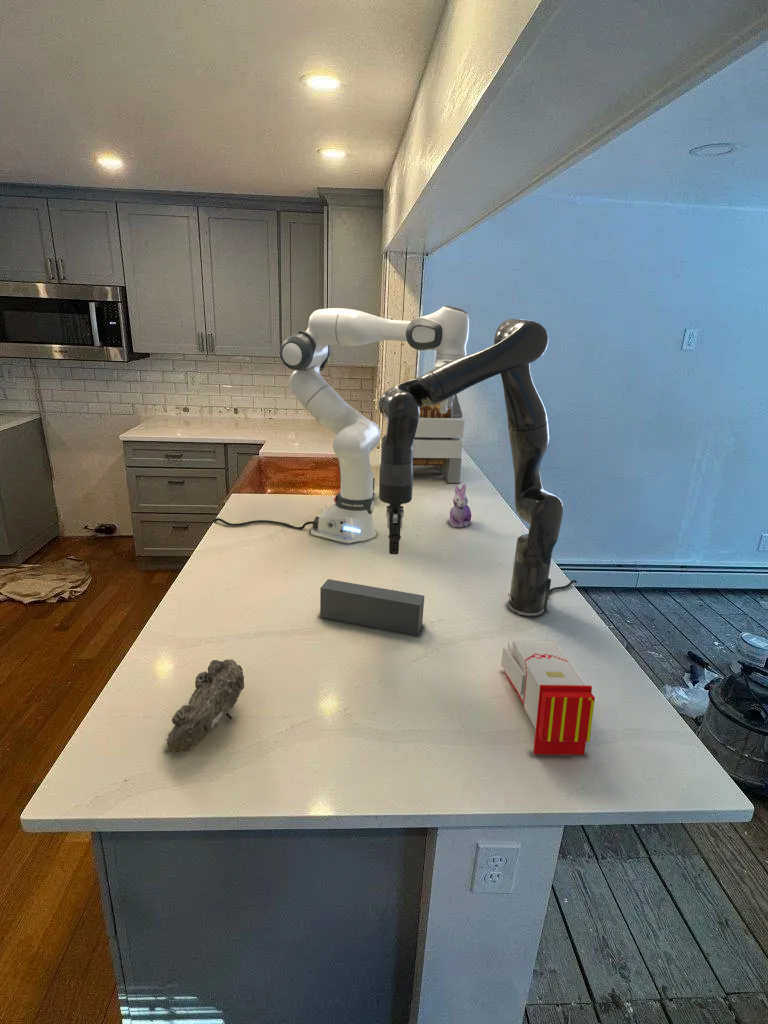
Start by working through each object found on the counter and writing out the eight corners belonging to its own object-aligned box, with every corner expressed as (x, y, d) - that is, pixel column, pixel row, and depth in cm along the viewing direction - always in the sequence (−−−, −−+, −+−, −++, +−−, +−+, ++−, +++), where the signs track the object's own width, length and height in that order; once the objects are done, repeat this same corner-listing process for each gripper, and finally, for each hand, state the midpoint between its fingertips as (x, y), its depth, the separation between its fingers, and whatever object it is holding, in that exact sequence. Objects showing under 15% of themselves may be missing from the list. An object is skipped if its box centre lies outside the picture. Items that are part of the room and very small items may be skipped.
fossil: (192, 660, 117) (244, 628, 112) (224, 691, 120) (276, 661, 115) (142, 746, 98) (202, 712, 93) (182, 779, 101) (242, 748, 96)
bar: (320, 617, 144) (320, 587, 142) (327, 607, 149) (327, 578, 146) (417, 635, 138) (419, 605, 135) (422, 625, 143) (424, 595, 140)
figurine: (457, 529, 205) (460, 490, 200) (441, 520, 214) (444, 482, 209) (478, 526, 210) (482, 487, 205) (462, 517, 218) (465, 480, 213)
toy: (549, 624, 127) (604, 693, 98) (544, 678, 130) (596, 762, 100) (496, 622, 127) (535, 692, 97) (491, 677, 129) (528, 761, 100)
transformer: (382, 463, 289) (386, 382, 275) (445, 464, 293) (451, 384, 279) (390, 482, 257) (394, 392, 243) (460, 483, 261) (468, 394, 247)
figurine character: (374, 507, 229) (374, 492, 242) (375, 490, 225) (375, 475, 239) (358, 507, 228) (358, 491, 242) (358, 490, 225) (359, 475, 238)
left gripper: (445, 361, 178) (441, 405, 183) (433, 366, 160) (429, 415, 165) (465, 362, 177) (461, 406, 182) (455, 368, 158) (450, 417, 163)
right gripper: (414, 490, 120) (410, 559, 126) (411, 471, 134) (408, 535, 139) (378, 489, 120) (376, 558, 126) (379, 470, 134) (378, 534, 139)
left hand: (446, 410), depth 173 cm, fingers open, 8 cm apart
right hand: (393, 546), depth 133 cm, fingers open, 8 cm apart
